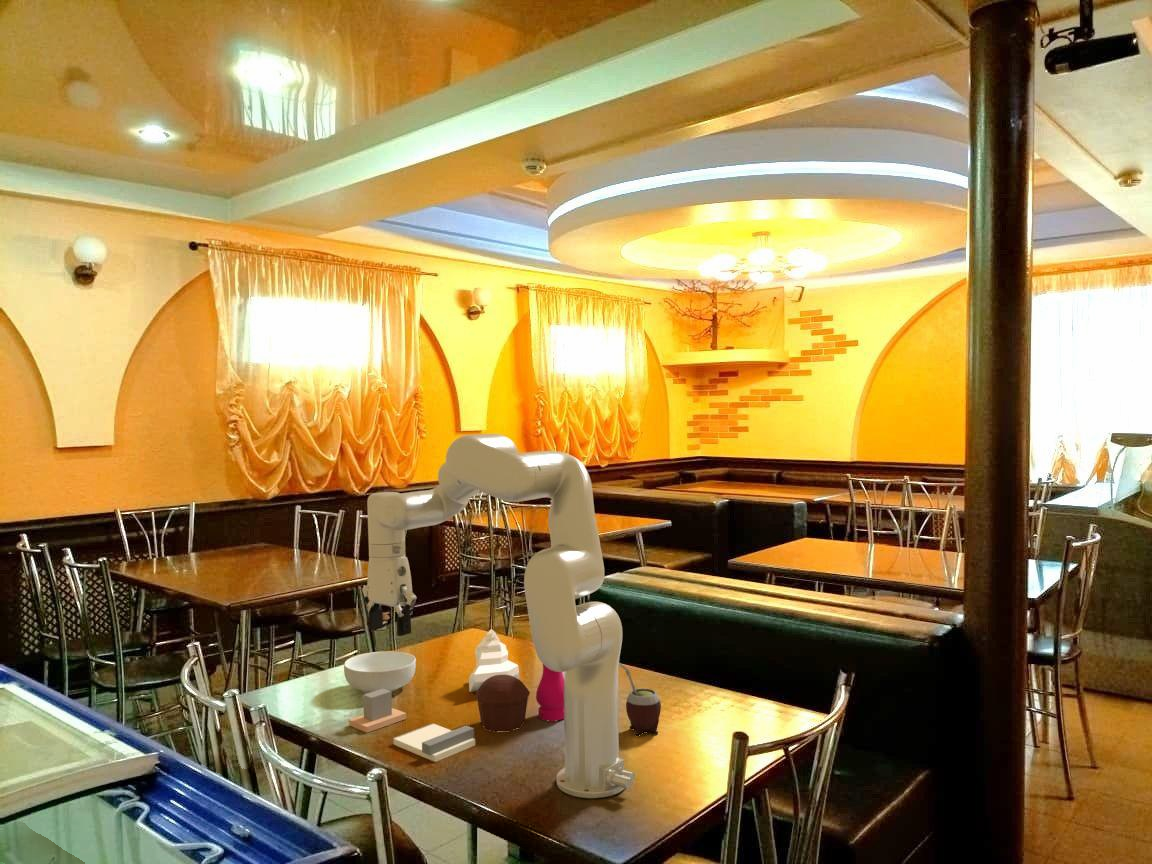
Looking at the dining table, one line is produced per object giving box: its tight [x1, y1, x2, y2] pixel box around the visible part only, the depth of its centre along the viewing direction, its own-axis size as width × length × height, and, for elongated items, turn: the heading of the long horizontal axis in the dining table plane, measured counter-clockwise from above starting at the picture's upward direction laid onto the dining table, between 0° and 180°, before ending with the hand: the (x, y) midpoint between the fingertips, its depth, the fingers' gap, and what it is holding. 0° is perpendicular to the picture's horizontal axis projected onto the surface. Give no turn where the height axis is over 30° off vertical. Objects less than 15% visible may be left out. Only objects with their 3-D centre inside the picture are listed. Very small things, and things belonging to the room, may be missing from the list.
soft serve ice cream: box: [468, 628, 520, 693], centre depth 196 cm, size 12×15×14 cm
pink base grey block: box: [348, 689, 407, 733], centre depth 173 cm, size 6×10×6 cm, turn 139°
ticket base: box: [392, 722, 476, 763], centre depth 161 cm, size 13×11×3 cm
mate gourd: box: [619, 662, 662, 737], centre depth 166 cm, size 8×8×15 cm
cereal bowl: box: [343, 650, 417, 694], centre depth 194 cm, size 17×17×7 cm
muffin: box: [474, 675, 531, 733], centre depth 171 cm, size 12×11×10 cm
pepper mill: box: [535, 663, 565, 722], centre depth 175 cm, size 7×7×20 cm
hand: (389, 631), depth 173 cm, fingers open, 9 cm apart
